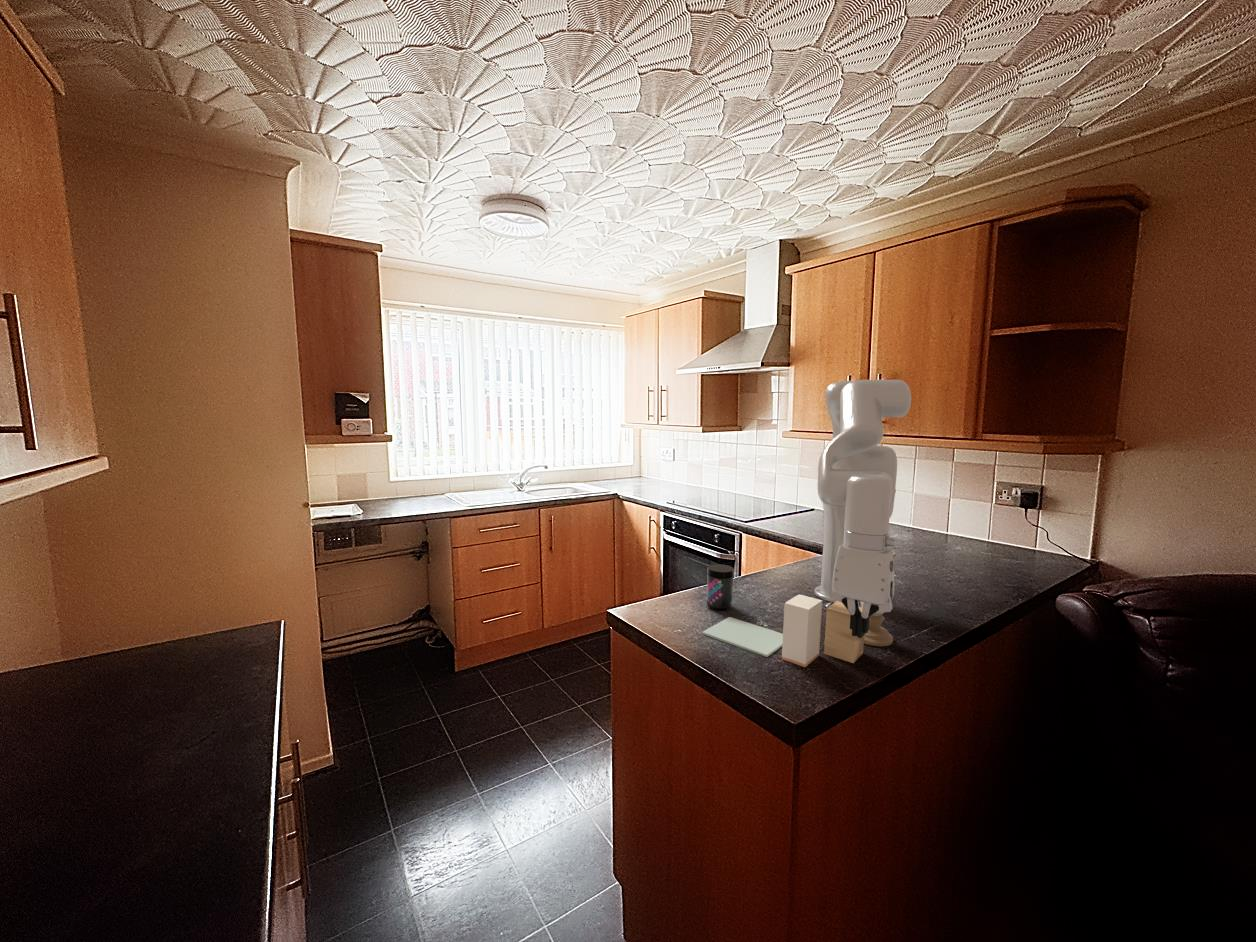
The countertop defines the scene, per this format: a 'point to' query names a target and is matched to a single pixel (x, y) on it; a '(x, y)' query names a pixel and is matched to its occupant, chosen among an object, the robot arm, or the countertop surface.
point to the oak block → (841, 634)
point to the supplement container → (720, 587)
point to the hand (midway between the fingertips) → (858, 634)
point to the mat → (746, 636)
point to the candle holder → (877, 628)
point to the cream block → (801, 630)
